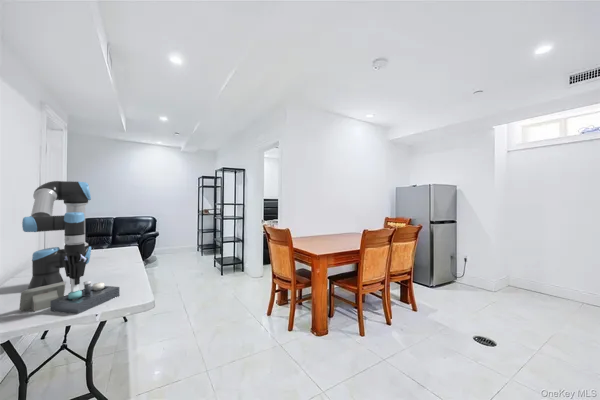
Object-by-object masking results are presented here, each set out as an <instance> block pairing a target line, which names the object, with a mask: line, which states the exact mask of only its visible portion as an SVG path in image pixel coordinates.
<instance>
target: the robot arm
mask: <svg viewBox="0 0 600 400" xmlns="http://www.w3.org/2000/svg"><path fill="white" fill-rule="evenodd" d="M33 199H34V201H33V202H34V203H33V204H32V205H33V206H32V210H31V213H30V216H29V215H28V216H24V217H22V223H21V224H22V227H21V228H22V231H23V232H24V233H38V232H39V233H40V232H41V233H42V232H53V231H55V232H56V231H64V232H63V233H64V244H65V245H63V248H60V247H58V246H55V247H47V248H42V249H39V250H36V251H34V252H33V253H32V258H31V261H32V262H31V264H32V265H31V267H32V269H31V270H32V273H31V275H32V276H31V280H30V281H29V284H28V286H27V287H28V289H27V290H29V289H33V288H38V287H42V286H47V285H51V284H56V283H61V282H65V281H64V279H63V277H62V274H61V271H60V270H61V269H64V270H65V271H64V272H65V275H66V277H67V278H68V277H69V280H70V292H75V291H78V290H80V283H81V281H80V279H81V278H82V277H84V275H85V271H86V267H87V266H86V265H88V264H89V262H90V259H91V255H92V253H91V252H92V246H89V242H86V205H88V204H89V201H91V200H92V196H91V191H90V186H89V183H88V182H86V181H71V180H70V181H68V180H67V181H63V180H53V181H48V182H45V183H43V184H40V185H39V186H38V187H36V189H35V190H34V192H33ZM55 201H63V204H64V205H65V206H66V212H65V213H64V214H63V215H53V211H54V203H55Z"/></svg>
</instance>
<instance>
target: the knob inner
mask: <svg viewBox="0 0 600 400" xmlns="http://www.w3.org/2000/svg"><path fill="white" fill-rule="evenodd" d="M92 286H93V290H96V292H98V291H101V289H104V288H105V287H104V286H105V282H103V281H102V282H96V283H93V284H92Z"/></svg>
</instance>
